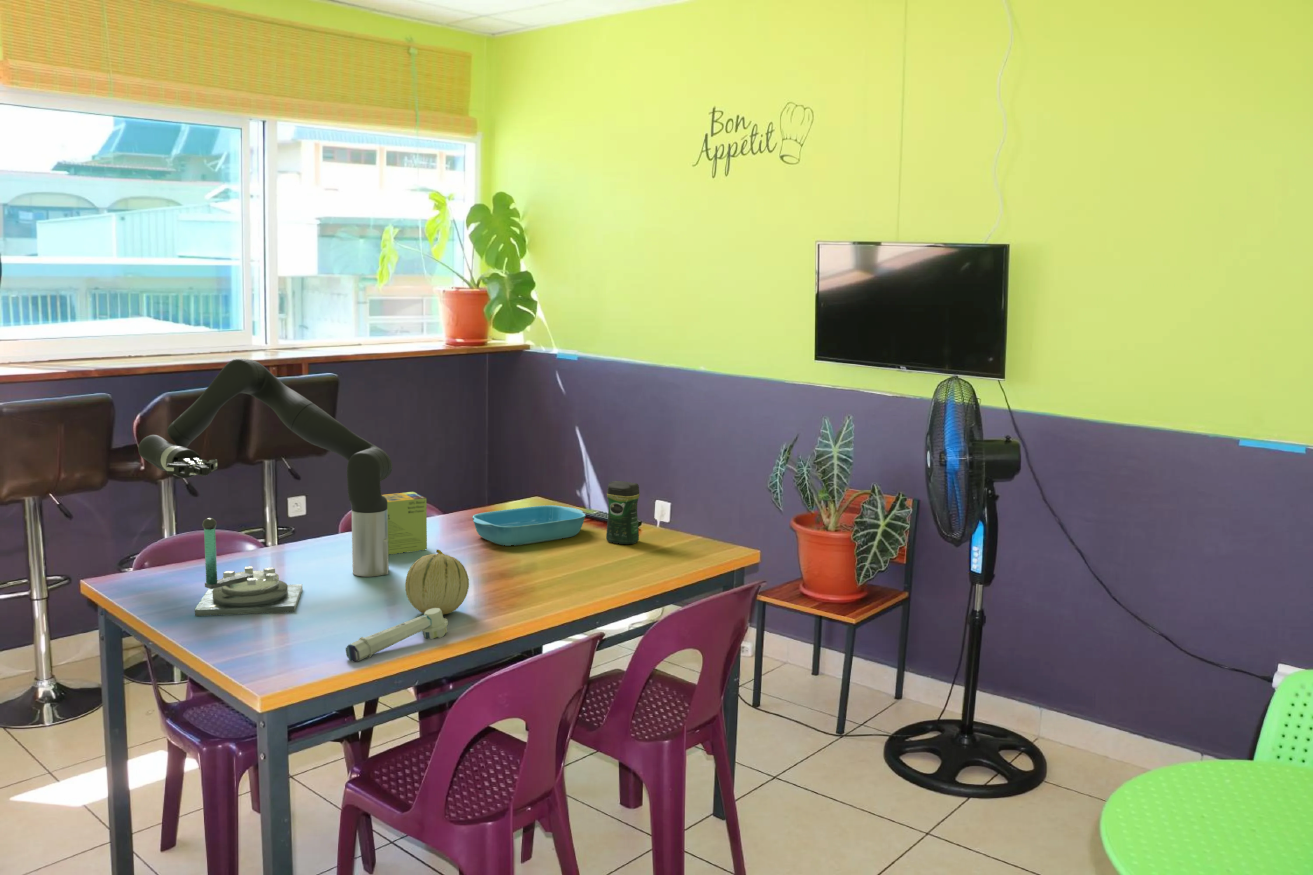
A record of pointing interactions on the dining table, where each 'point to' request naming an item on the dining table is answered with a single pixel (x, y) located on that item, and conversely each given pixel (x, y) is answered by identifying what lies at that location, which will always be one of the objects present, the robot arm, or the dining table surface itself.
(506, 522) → the casserole dish
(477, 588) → the dining table surface
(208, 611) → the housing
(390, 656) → the dining table surface
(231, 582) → the crank handle wheel
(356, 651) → the beige piece
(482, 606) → the dining table surface
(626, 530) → the coffee jar
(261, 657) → the dining table surface
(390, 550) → the protein box
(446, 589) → the cantaloupe
